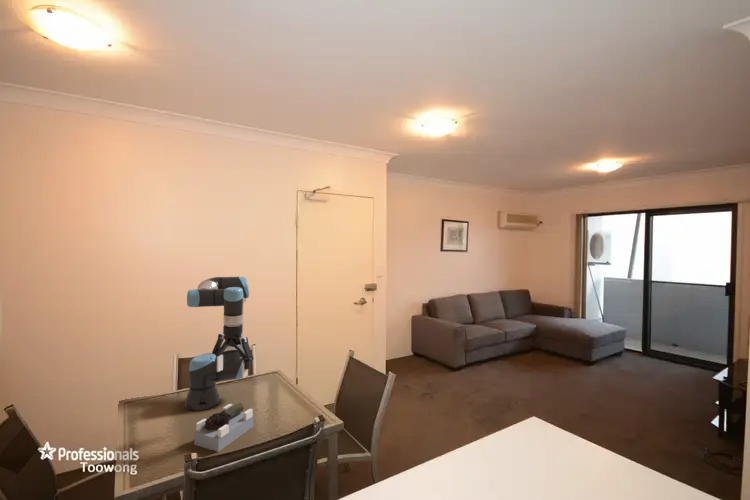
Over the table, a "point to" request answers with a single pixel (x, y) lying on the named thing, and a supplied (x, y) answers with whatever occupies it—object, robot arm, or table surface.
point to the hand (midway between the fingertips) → (232, 373)
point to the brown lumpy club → (223, 417)
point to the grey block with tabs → (223, 431)
